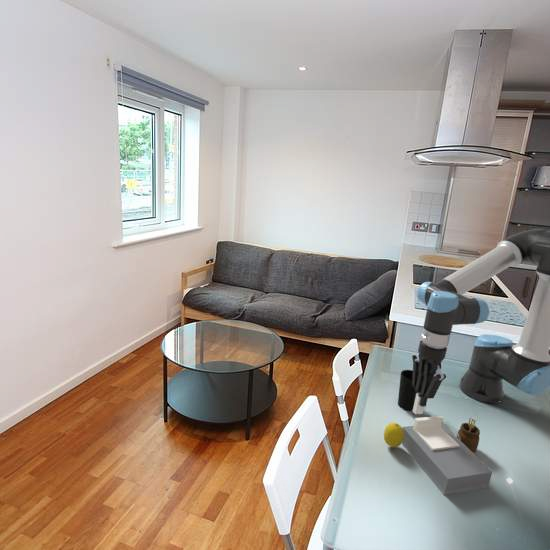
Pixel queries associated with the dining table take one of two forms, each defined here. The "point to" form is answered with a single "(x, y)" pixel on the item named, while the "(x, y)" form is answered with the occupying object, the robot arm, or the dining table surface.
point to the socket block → (448, 464)
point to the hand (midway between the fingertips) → (417, 412)
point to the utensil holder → (469, 435)
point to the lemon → (393, 435)
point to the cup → (406, 391)
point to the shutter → (434, 433)
